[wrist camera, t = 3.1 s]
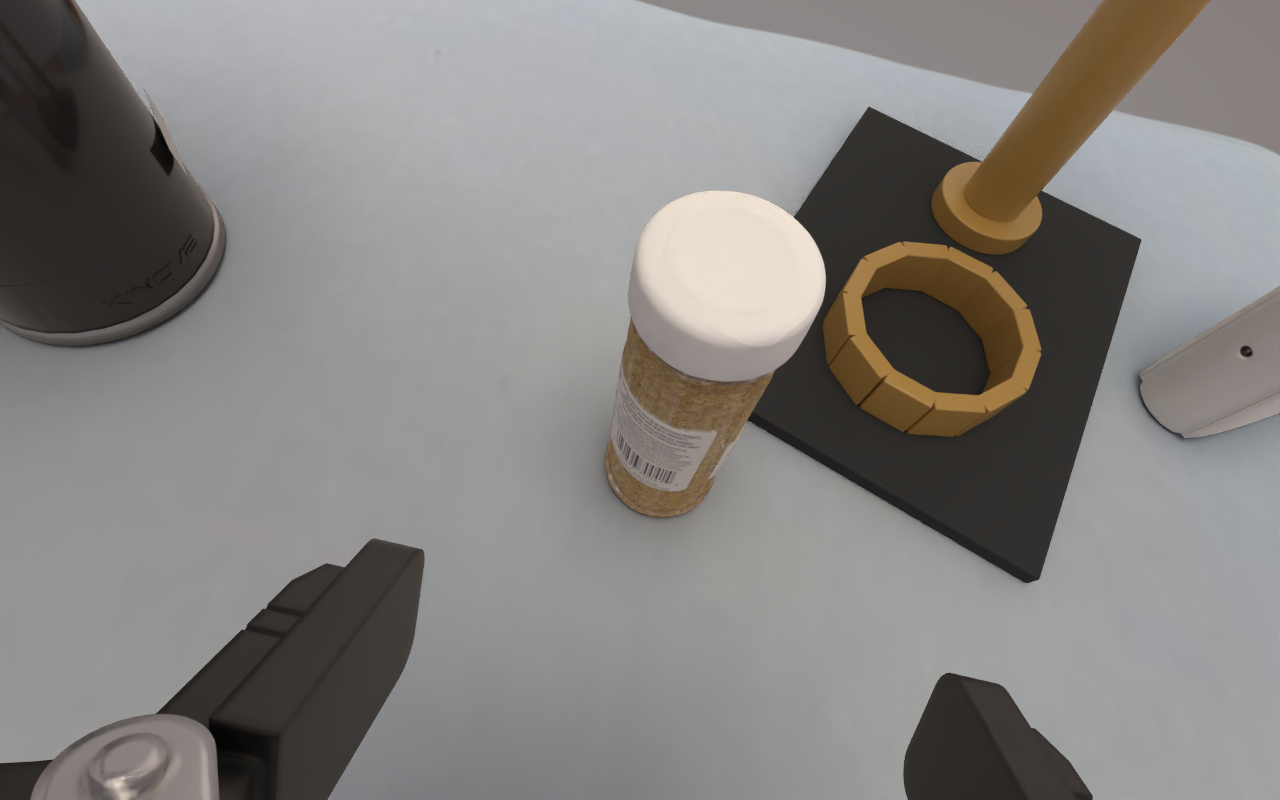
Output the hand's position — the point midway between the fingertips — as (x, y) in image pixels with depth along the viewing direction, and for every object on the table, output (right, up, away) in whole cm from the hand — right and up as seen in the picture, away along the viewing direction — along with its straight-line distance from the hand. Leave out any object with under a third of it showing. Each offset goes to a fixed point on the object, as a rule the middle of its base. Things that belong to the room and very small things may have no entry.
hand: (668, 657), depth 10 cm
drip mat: (+14, +8, +22) cm, 27 cm away
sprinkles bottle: (0, +1, +17) cm, 17 cm away
